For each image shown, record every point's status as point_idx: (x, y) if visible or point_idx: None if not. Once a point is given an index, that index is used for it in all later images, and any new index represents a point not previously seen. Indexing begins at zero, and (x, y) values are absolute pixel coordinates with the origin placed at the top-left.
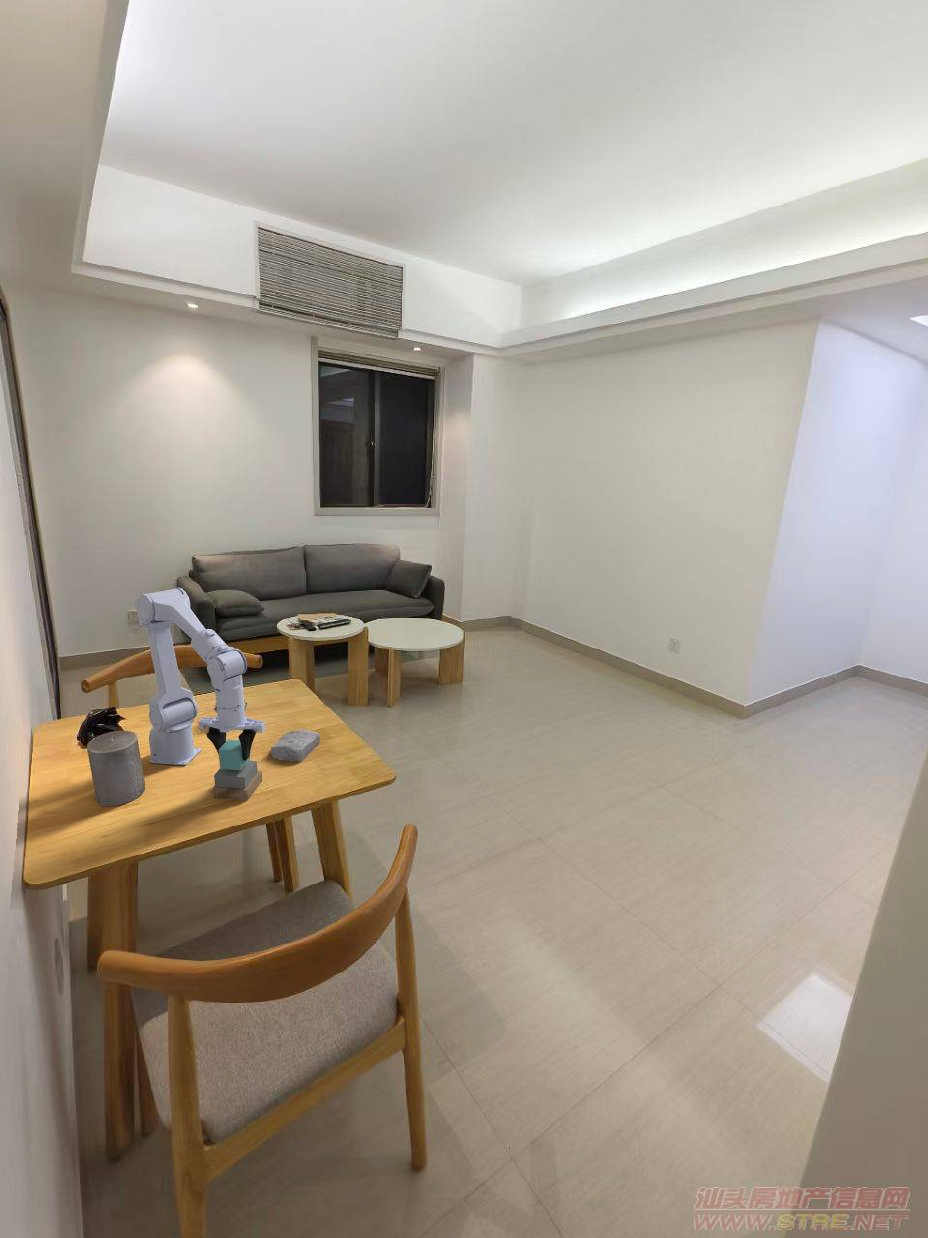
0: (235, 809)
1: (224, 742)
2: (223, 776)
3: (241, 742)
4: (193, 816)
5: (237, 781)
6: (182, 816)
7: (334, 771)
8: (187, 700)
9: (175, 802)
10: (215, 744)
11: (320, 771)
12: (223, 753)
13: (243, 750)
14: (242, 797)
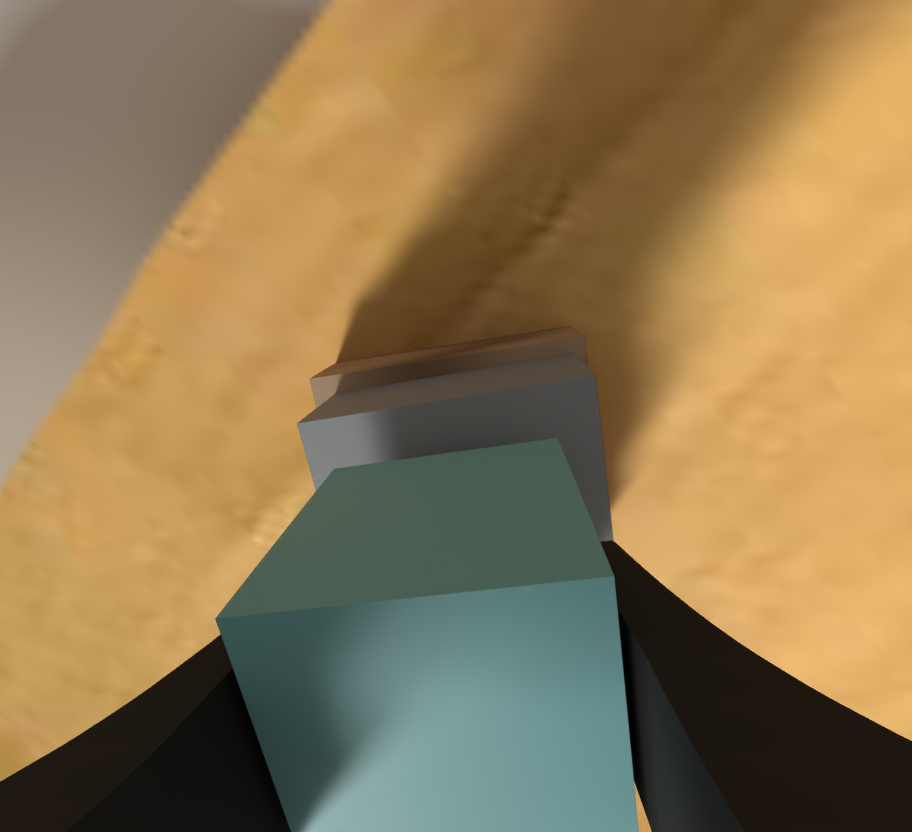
0: (347, 251)
1: (652, 799)
2: (497, 389)
3: (47, 827)
4: (577, 80)
5: (376, 400)
6: (659, 51)
7: (75, 721)
8: None
9: (813, 197)
10: (744, 686)
11: None
12: (511, 548)
13: (211, 670)
14: (364, 361)
